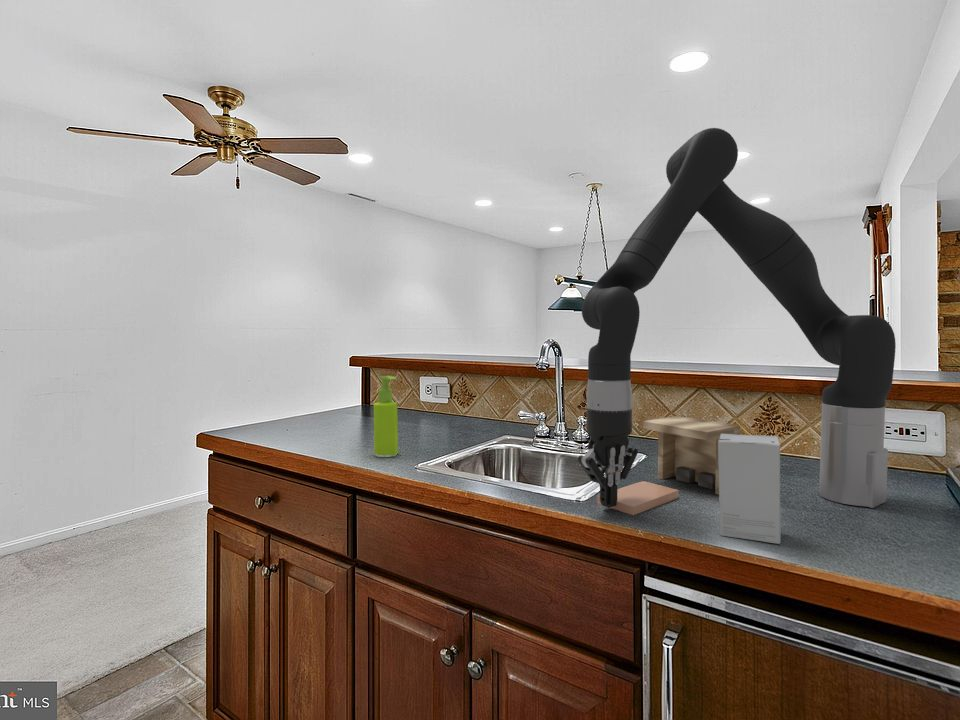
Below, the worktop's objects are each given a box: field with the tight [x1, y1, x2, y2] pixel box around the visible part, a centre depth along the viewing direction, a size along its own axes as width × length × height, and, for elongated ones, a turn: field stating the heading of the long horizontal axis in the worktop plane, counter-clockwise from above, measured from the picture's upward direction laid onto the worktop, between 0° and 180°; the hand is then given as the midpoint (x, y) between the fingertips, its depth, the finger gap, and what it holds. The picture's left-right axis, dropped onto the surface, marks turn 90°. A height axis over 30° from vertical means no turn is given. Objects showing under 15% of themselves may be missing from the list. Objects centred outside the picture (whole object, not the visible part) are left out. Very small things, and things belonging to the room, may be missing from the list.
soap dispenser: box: [373, 375, 399, 455], centre depth 128 cm, size 6×7×20 cm
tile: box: [596, 480, 680, 516], centre depth 93 cm, size 8×14×2 cm, turn 129°
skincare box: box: [718, 434, 782, 545], centre depth 77 cm, size 8×6×15 cm
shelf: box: [642, 415, 741, 496], centre depth 101 cm, size 14×11×12 cm
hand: (608, 505), depth 88 cm, fingers closed
